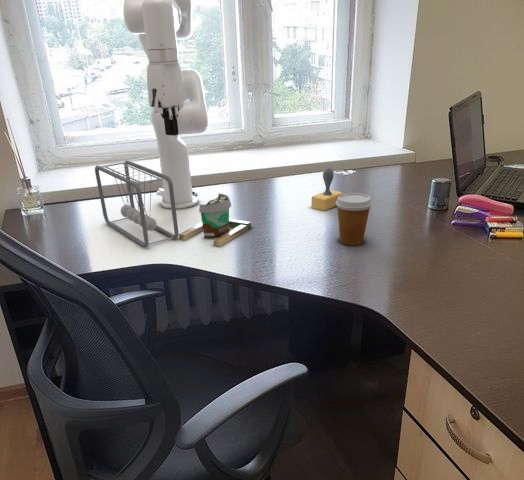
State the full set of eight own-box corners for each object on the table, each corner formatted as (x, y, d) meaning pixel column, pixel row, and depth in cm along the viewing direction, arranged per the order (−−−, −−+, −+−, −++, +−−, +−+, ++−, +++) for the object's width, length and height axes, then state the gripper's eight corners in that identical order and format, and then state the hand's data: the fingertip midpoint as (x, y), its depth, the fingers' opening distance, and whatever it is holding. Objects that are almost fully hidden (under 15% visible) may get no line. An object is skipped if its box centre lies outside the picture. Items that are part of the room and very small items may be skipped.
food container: (221, 242, 148) (218, 207, 143) (201, 239, 150) (198, 205, 145) (240, 228, 157) (238, 194, 152) (221, 226, 160) (219, 192, 154)
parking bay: (179, 239, 151) (178, 233, 150) (212, 221, 163) (211, 215, 163) (220, 246, 145) (219, 240, 144) (251, 227, 157) (250, 221, 157)
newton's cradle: (104, 222, 166) (93, 164, 156) (135, 215, 171) (125, 158, 161) (146, 249, 145) (136, 184, 135) (180, 240, 150) (172, 177, 141)
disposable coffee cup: (347, 250, 140) (349, 205, 134) (327, 239, 147) (329, 196, 141) (376, 243, 144) (379, 199, 137) (355, 232, 151) (358, 190, 145)
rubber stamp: (329, 200, 178) (330, 163, 172) (343, 203, 175) (345, 166, 168) (310, 207, 172) (311, 169, 166) (324, 210, 169) (326, 172, 162)
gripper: (169, 55, 140) (177, 129, 149) (132, 59, 129) (143, 139, 138) (192, 55, 136) (199, 130, 146) (156, 59, 125) (166, 141, 135)
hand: (172, 134), depth 142 cm, fingers closed
